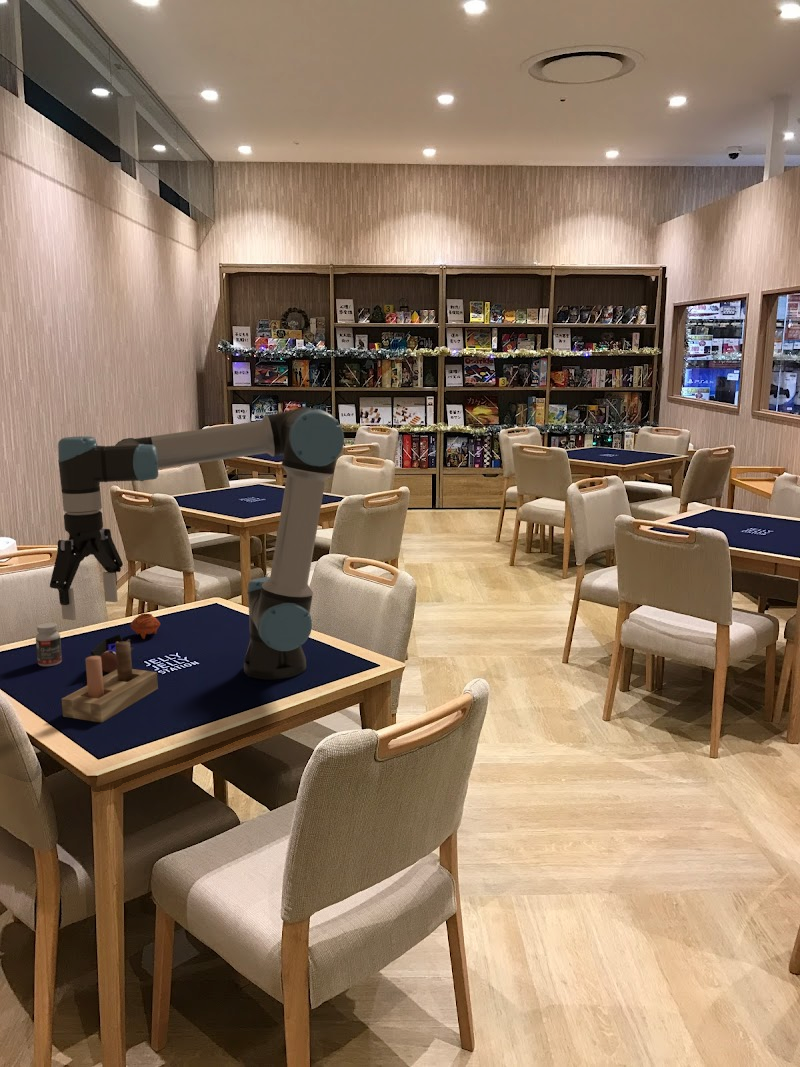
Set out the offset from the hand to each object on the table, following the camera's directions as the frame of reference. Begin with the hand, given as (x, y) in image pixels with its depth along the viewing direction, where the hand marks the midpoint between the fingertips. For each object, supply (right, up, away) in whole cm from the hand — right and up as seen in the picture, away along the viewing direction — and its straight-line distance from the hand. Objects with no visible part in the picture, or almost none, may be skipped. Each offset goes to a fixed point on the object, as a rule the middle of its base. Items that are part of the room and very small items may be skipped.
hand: (91, 610), depth 182 cm
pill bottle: (-23, -17, +34) cm, 44 cm away
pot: (-5, -12, +55) cm, 56 cm away
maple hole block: (+2, -21, +9) cm, 23 cm away
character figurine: (-5, -17, +29) cm, 35 cm away
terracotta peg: (0, -22, +4) cm, 23 cm away
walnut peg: (+3, -20, +14) cm, 25 cm away
